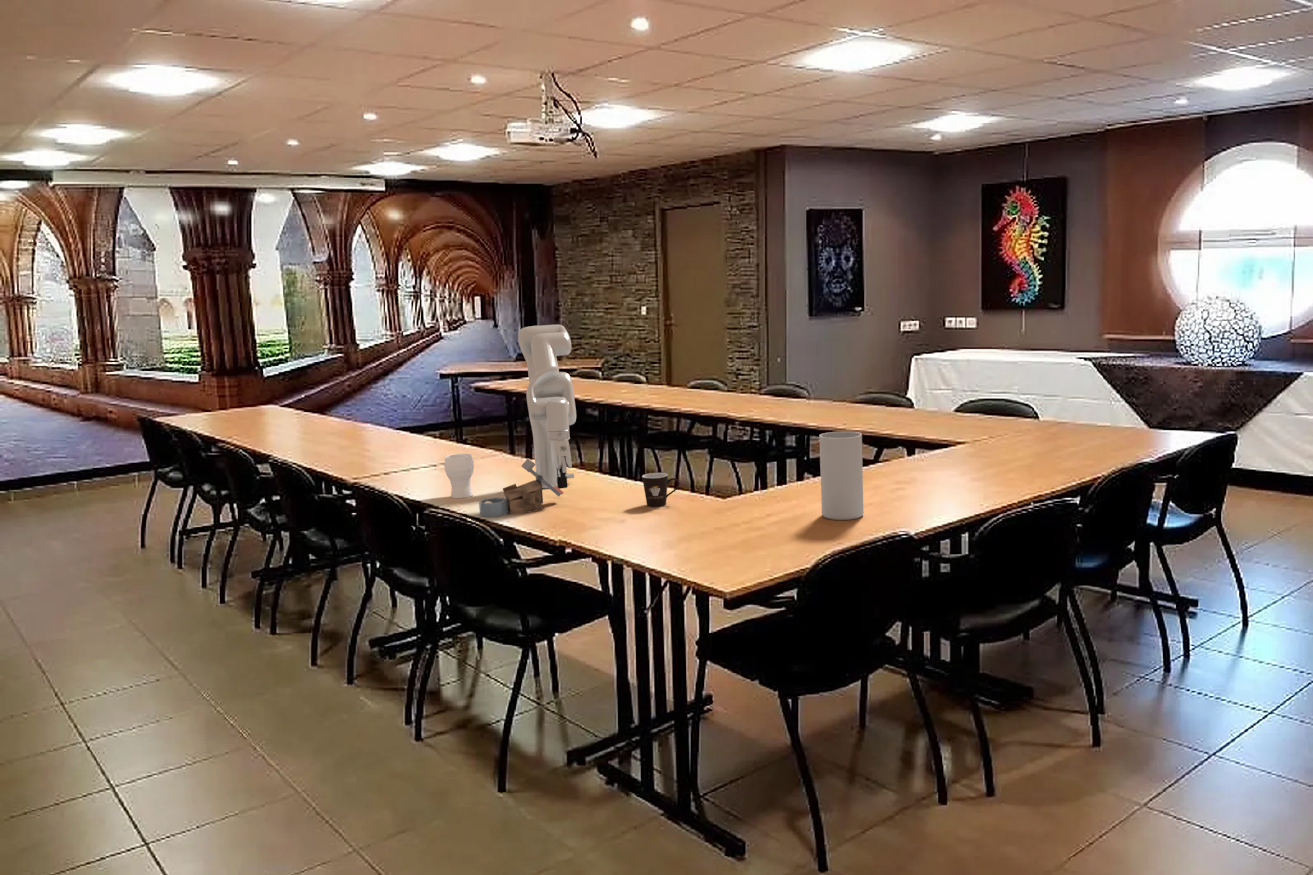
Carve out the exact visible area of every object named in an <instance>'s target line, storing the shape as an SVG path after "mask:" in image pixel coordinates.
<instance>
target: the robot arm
mask: <svg viewBox="0 0 1313 875" xmlns="http://www.w3.org/2000/svg"><path fill="white" fill-rule="evenodd" d="M517 337H518V338H517V339H518V345H519V348H520V350H521V353H522V355H523V357H524V360H525V362H526V365H527V373H528V381H529V382H528V385H527V387H526V404H527V410H528V416H529V422H530V426H531V431H532V438H533V440H532V441H533V452H534V464H536V465H535V466H534V467H535V472H536V473H537V474H538V475H541V476H542V477H543V479H544V480H545V481H546V482H548V483H549V484H550V485H551V486H552V487H554V486H557V487H558V488H559V489H560V490H562V489H567V488H568V479H570V480H571V479H574V478H575V473H574V472H572V473H569V472H567V471H568V470H567V468H568V469H571V468H572V466H573V464H572V457H571V448H570V443H569V440H570V439H571V437H570V426H573V425H575V423H576V422H577V421H576V420H577V409H576V401H575V391H574V384H573V380H572V377H571V376H570V374H569V373H567V372H565V371H560V369H559V363H558V358H557V357H559V356H568V355H569V354H570V353H571V351H572V341H571V336H570V334H569V332H568V331H567V329H566V327H565V326H563V325H562V324H546V325H532V326H525V327H522V328H521V329H520V330H519V331H518V336H517ZM542 489H549V488H548V487H547V486H546V485H544V484H543V483H542Z"/></svg>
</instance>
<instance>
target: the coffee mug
mask: <svg viewBox="0 0 1313 875" xmlns="http://www.w3.org/2000/svg"><path fill="white" fill-rule="evenodd" d="M668 477H669V474H668V473H664V472H652V473H646V474H643V475H642V476H641V478H642V483H643V484H642V485H643V490H644V495H645V500H646V506H647V507H649V508H659V507H665V506H666V505H667V498H668V497H669V496H670V495H671V494H673V493H674V492H676V491H677V490H678V489H679V487H680V485H681V484H680V480H678V478H675V477H671V478H670V479H669V478H668ZM671 481H676V482H677V486H676V487H675V488H674V490H673V489H672V491H670V492H669V493H668V485H669V484H670V482H671ZM664 505H665V506H664Z"/></svg>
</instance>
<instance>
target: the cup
mask: <svg viewBox="0 0 1313 875" xmlns="http://www.w3.org/2000/svg"><path fill="white" fill-rule="evenodd" d="M474 465H475V464H474V459H473V455H472V454H471V453H454V454H448V455H446V456H444V462H443V467H444V472H445V474H446V476H447V478H448V480H449V481H450V485H451V486H450V487H451V494H450V498H452V499H463V498H470V497H471V496H473V492H472V491H473V490H472V487H471V478H472V476H473V474H474V468H475V466H474Z"/></svg>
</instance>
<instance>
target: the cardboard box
mask: <svg viewBox="0 0 1313 875" xmlns="http://www.w3.org/2000/svg"><path fill="white" fill-rule="evenodd" d="M502 491H503V493H504V496H505V499H506V500H507V505H508V514H510V515H515V514H522V513H530V512H529V511H531V512H535V511H534V510H538V511H541V510H540V509H542V510H543V508H542V504H544V498H543V497H544V494H543V488H542V482H541V481H538V480H537V479H536V478H535V479H534V480H532V481H529V482H526V483H524V484H521V485H518V486H517V484H516V483H514V484H510V485H508V486H506V487H504V488H502ZM514 513H515V514H514Z"/></svg>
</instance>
